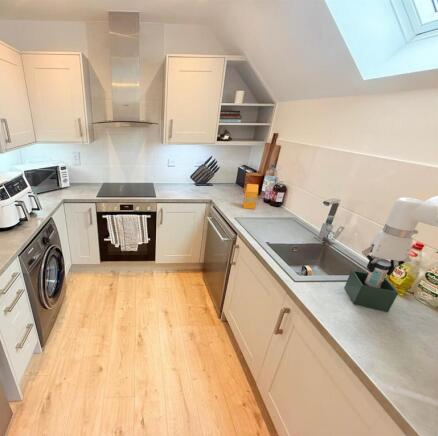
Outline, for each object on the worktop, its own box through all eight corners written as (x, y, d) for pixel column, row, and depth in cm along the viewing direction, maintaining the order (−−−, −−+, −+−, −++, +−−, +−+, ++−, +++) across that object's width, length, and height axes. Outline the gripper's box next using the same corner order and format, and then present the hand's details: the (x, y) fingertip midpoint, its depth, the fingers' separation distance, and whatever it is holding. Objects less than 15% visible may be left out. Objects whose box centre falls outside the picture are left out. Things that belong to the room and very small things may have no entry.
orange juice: (242, 205, 203) (246, 182, 195) (253, 206, 201) (257, 183, 193) (243, 208, 196) (247, 185, 188) (254, 209, 194) (259, 185, 186)
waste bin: (375, 294, 102) (384, 275, 98) (388, 312, 92) (398, 292, 89) (344, 287, 106) (351, 269, 102) (353, 304, 96) (361, 285, 92)
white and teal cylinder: (377, 283, 97) (388, 258, 92) (382, 290, 93) (394, 265, 88) (362, 280, 99) (373, 256, 94) (366, 287, 95) (378, 262, 90)
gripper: (421, 230, 87) (400, 271, 94) (364, 223, 92) (348, 262, 100) (435, 239, 80) (411, 282, 87) (372, 231, 86) (355, 272, 93)
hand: (378, 271), depth 93 cm, fingers closed on white and teal cylinder, 4 cm apart
